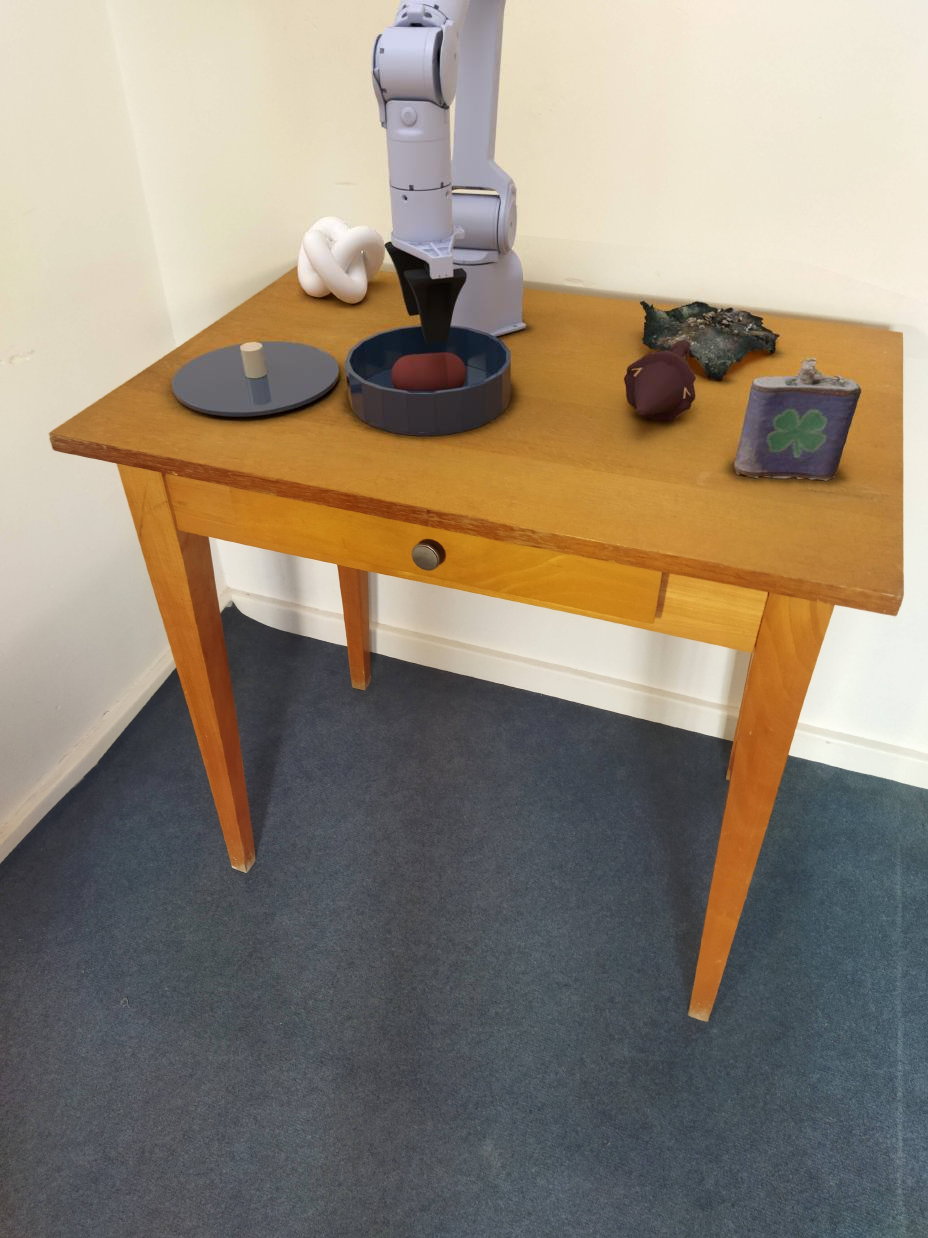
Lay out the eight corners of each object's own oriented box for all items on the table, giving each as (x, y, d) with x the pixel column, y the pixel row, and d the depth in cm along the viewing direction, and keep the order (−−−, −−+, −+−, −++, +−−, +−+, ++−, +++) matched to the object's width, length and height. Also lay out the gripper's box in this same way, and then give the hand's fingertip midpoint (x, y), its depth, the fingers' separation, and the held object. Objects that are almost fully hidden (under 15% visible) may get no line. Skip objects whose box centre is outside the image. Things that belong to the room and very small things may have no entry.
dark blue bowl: (454, 351, 104) (453, 312, 101) (542, 406, 92) (544, 364, 90) (322, 388, 97) (317, 348, 94) (400, 452, 85) (397, 409, 83)
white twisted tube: (371, 273, 125) (365, 205, 119) (403, 300, 116) (398, 229, 111) (294, 286, 121) (284, 217, 115) (321, 315, 113) (312, 243, 107)
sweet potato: (390, 385, 95) (388, 348, 92) (463, 380, 96) (463, 342, 93) (393, 407, 92) (391, 369, 89) (469, 401, 93) (469, 364, 90)
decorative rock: (678, 274, 111) (800, 285, 104) (673, 323, 114) (791, 337, 107) (619, 314, 97) (755, 330, 91) (616, 369, 101) (747, 387, 94)
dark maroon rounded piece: (691, 395, 80) (724, 346, 91) (618, 362, 81) (658, 318, 92) (661, 459, 84) (696, 405, 95) (592, 427, 86) (634, 378, 97)
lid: (298, 337, 107) (293, 302, 105) (368, 392, 96) (365, 354, 93) (151, 374, 100) (142, 337, 97) (208, 438, 88) (199, 399, 86)
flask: (734, 477, 81) (758, 366, 74) (731, 461, 83) (753, 352, 76) (838, 482, 80) (872, 370, 73) (831, 465, 82) (863, 355, 75)
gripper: (485, 199, 76) (485, 349, 85) (442, 160, 87) (446, 297, 96) (405, 206, 75) (414, 359, 84) (372, 166, 86) (383, 305, 94)
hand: (427, 327), depth 90 cm, fingers open, 7 cm apart
